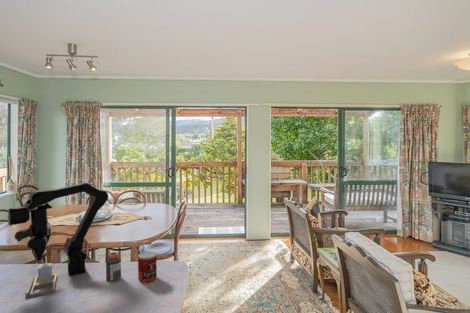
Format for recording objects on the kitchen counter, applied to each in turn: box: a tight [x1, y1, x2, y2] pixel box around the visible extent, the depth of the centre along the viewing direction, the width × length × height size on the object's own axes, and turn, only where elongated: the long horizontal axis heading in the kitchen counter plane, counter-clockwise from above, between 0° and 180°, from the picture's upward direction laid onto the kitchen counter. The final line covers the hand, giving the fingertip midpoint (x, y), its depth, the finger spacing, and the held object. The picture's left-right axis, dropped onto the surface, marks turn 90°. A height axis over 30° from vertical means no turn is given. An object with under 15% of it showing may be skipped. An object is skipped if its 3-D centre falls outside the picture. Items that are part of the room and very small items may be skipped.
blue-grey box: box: [37, 262, 53, 283], centre depth 123 cm, size 4×4×8 cm
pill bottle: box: [105, 251, 122, 283], centre depth 126 cm, size 6×6×11 cm
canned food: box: [137, 250, 158, 284], centre depth 126 cm, size 8×8×11 cm
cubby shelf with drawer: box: [25, 273, 58, 299], centre depth 119 cm, size 9×16×2 cm, turn 28°
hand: (41, 256), depth 123 cm, fingers open, 9 cm apart
